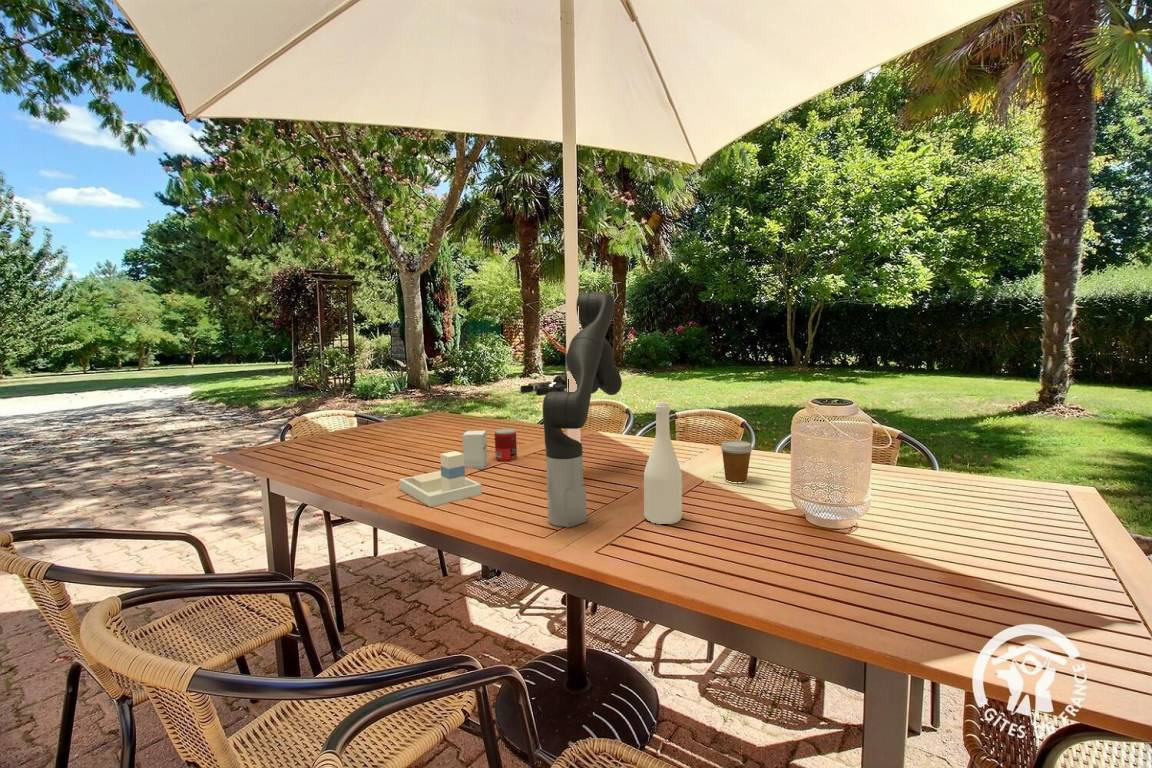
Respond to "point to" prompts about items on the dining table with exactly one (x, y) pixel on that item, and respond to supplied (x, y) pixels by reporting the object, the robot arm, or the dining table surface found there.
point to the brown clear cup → (736, 460)
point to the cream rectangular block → (428, 482)
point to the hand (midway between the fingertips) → (528, 390)
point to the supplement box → (475, 449)
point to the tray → (440, 492)
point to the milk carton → (452, 471)
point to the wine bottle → (662, 475)
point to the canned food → (505, 444)
